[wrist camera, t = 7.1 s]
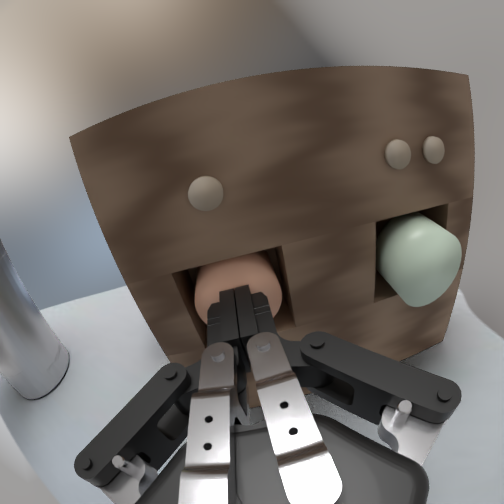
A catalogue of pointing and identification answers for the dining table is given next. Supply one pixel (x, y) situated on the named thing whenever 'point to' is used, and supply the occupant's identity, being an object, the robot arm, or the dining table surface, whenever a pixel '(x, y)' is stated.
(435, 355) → the dining table surface
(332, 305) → the button panel
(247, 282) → the button one
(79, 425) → the dining table surface
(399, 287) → the button two
